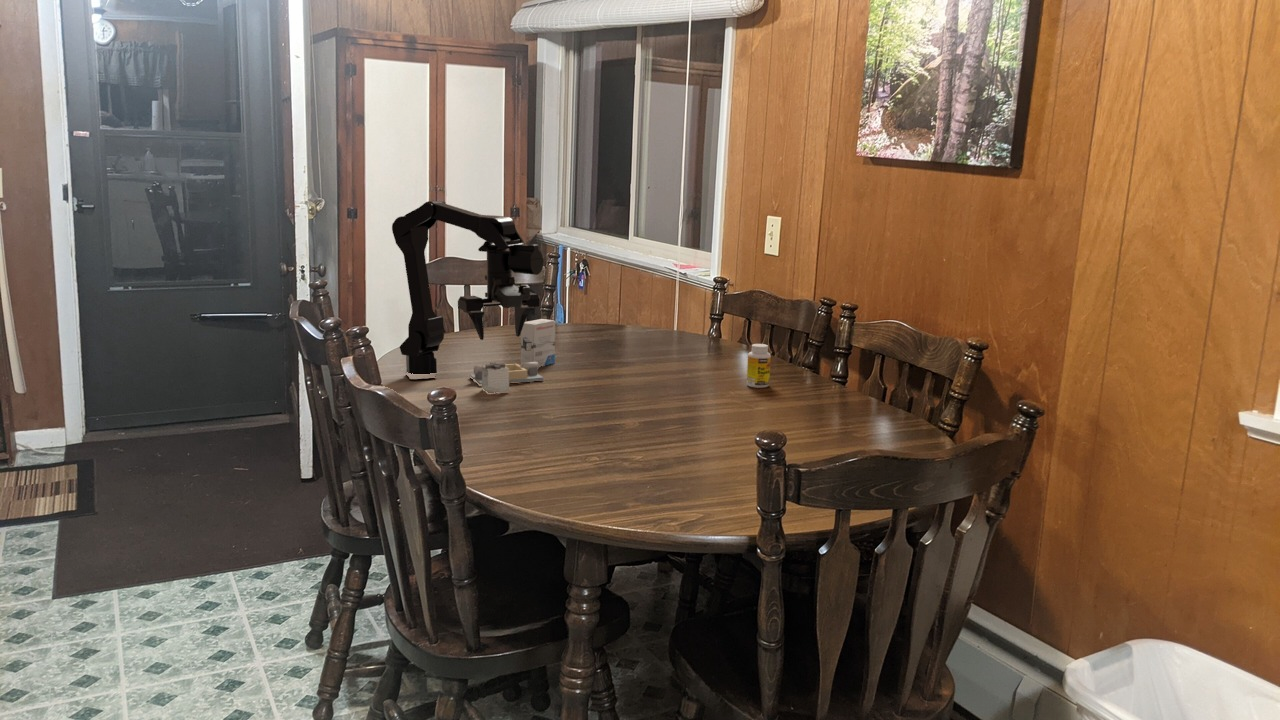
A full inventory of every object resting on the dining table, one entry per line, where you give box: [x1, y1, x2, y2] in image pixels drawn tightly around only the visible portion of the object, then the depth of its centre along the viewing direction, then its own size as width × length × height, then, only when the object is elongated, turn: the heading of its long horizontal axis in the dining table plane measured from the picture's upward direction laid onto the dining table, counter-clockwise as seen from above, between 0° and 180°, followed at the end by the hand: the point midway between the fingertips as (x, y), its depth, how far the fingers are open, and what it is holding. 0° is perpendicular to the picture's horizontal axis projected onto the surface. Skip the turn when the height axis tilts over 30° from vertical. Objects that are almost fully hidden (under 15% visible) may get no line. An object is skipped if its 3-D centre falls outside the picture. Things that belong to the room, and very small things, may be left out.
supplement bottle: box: [746, 343, 772, 389], centre depth 245 cm, size 6×6×10 cm
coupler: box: [481, 362, 510, 393], centre depth 233 cm, size 5×5×7 cm
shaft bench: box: [469, 362, 544, 384], centre depth 246 cm, size 16×9×4 cm, turn 115°
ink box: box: [520, 318, 556, 367], centre depth 262 cm, size 9×5×12 cm, turn 143°
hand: (500, 338), depth 234 cm, fingers open, 9 cm apart
